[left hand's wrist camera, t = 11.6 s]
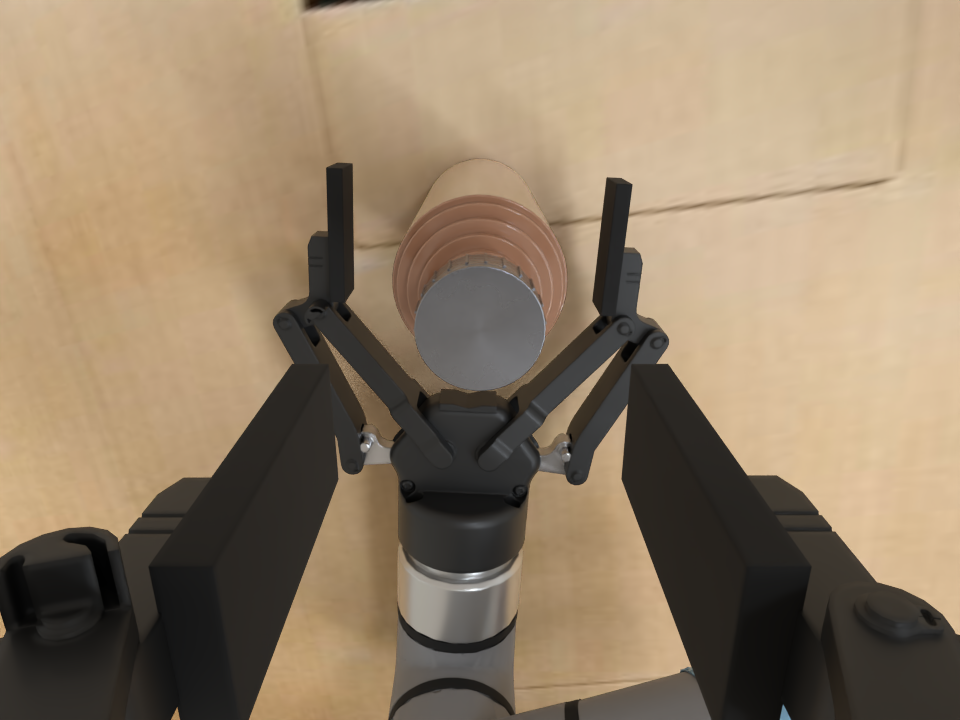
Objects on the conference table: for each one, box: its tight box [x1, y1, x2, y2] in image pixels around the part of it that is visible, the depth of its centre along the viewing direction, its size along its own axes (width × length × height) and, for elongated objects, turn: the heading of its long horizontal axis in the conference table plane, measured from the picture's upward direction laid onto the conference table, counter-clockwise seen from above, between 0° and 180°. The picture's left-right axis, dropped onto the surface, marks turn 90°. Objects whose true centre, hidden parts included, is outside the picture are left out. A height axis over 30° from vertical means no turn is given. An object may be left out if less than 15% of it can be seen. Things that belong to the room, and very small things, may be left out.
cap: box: [414, 253, 547, 391], centre depth 21 cm, size 4×4×2 cm
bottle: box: [393, 159, 568, 337], centre depth 30 cm, size 6×6×21 cm
